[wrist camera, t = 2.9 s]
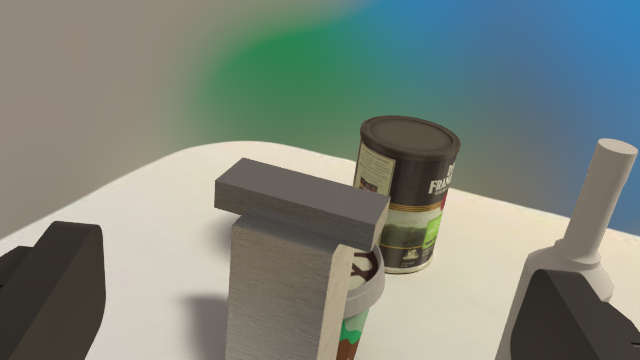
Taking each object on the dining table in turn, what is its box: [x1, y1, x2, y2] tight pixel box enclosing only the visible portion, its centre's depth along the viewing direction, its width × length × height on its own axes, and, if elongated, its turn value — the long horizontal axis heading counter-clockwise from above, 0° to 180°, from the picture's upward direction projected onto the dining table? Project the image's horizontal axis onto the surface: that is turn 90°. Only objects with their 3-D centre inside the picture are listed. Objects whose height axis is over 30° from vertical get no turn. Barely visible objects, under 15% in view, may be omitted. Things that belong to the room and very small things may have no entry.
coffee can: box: [353, 115, 461, 274], centre depth 63 cm, size 10×10×14 cm
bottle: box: [495, 139, 638, 360], centre depth 37 cm, size 5×5×25 cm
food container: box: [336, 243, 385, 360], centre depth 49 cm, size 12×6×10 cm, turn 18°
